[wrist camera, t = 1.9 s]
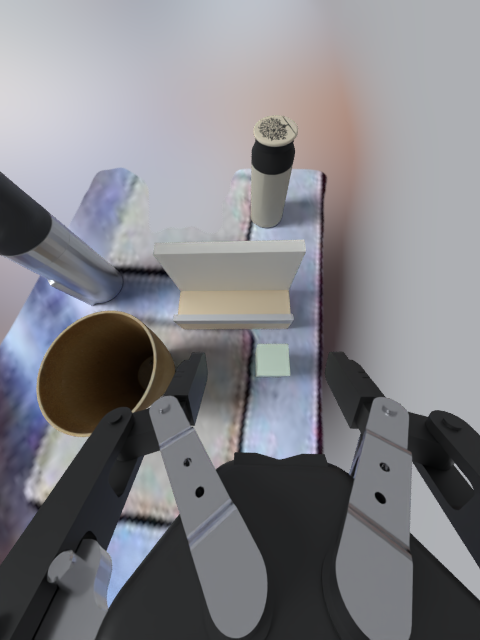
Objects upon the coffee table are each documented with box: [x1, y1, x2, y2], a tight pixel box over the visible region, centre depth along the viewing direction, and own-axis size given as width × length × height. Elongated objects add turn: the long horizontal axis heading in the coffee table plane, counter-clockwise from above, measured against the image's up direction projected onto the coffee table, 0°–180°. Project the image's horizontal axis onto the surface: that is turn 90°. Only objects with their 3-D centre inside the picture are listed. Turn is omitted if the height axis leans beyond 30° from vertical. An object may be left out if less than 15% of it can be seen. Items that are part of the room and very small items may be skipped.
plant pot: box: [37, 311, 175, 437], centre depth 31 cm, size 15×15×16 cm
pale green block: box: [255, 344, 290, 377], centre depth 33 cm, size 4×4×11 cm
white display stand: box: [153, 240, 306, 329], centre depth 34 cm, size 9×22×16 cm, turn 89°
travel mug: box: [251, 116, 298, 228], centre depth 41 cm, size 8×8×18 cm
